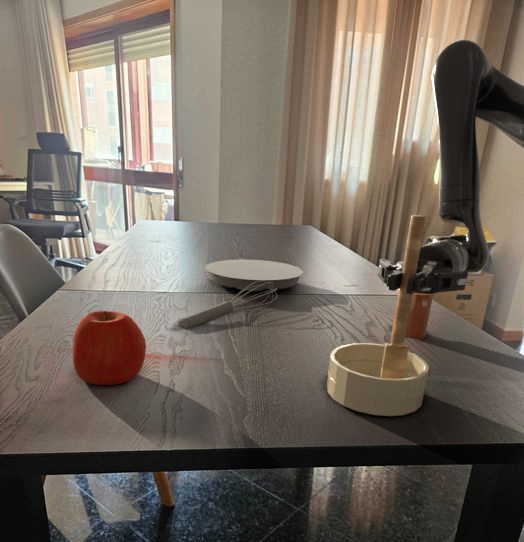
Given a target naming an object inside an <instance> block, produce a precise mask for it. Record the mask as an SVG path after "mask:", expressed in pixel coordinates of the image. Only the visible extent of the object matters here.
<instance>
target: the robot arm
mask: <svg viewBox="0 0 524 542" xmlns="http://www.w3.org/2000/svg"><path fill="white" fill-rule="evenodd" d="M431 81H432V88H433V95H434V101H435V108H436V116H437V126H438V127H437V128H438V142H439V143H438V144H439V182H438V183H439V185H438V217H439V220H440V221H441V222H443V223H447V224H456V225H457V224H458V225H462V226H463V227H464V228H465V231H466V234H456V235H444V236H443V235H442V236H438V237H435V238H433V239H432V240H431V242H429V243H426V244H424V245H421V247H420V253H419V259H418V265H417V270H416V274H414V275H412V276H410V277H409V279H408V284H407V290H406V293H408V294H413V293H415V292H419V293H422V294H433V295H434V294H437V293H447V292H457V291H465V290H466V286H467V281H468V277H469V273H478V272H481V271H482V270H483V269H485V267H486V265H487V264H488V263H489V262H488V261H489V258H490V249H489V245H488V242H487V239H486V236H485V235H486V234H485V231H484V228H483V224H482V218H481V210H480V209H481V207H480V203H481V202H480V200H481V166H480V156H479V149H478V142H477V141H478V140H477V127H476V125H477V124H476V121H477V120H476V119H478V120H480V121H483V122H484V123H487V124H488V125H491V126H493V127H494V128H496V129H498V130H499V131H501V132H502V133H503V134H504V135H506V136H507V137H508V138H509V139H511V140H512V141H513V142H514V143H516V144H517V145H518V146H520V147H522V149H524V85H523V84H521V83H519V82H517V81H515V80H514V79H512V78H511V77H509V76H507V74H505V73H504V72H502V71H500V69H498V68H496V66H494V64H493V63H491V60H490V59H489V57H488V56H487V53H486V51H485V50H484V49H483V48H482V47H481V46H480V45H479V44H478V43H476V42H475V41H472V40H470V39H469V40H468V39H460V40H457V41H454V42H452V43H450V44H448V45H447V46H446V47H445V48H444V49H442V51H441V52H440V53H439V54H438V56H437V58H436V60H435V61H434V64H433V68H432V72H431ZM403 264H404V260H403V261H402V260H401V261H398V262H396V264H393V262H392V261H389V260H388V259H386V258H381V259H379V262H378V270H377V277H378V278H379V280H381V282H382V283H383V284H385V285H386V287H388V291H392V292H395V291H398V290H399V288H400V283H401V277H402V271H403Z"/></svg>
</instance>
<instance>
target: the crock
mask: <svg viewBox="0 0 524 542" xmlns="http://www.w3.org/2000/svg"><path fill="white" fill-rule="evenodd" d="M399 289H400V288H399ZM399 289H397V295H396V296H397V297H396V303H395V309H394V316H393V320H392V327H391V334H392V333H393V326H394V320H395V314H396V308H397V302H398V295H399ZM433 298H434V294H422V293H419V292H415V293H413V294H412V299H411V305H410V311H409V317H408V323H407V329H406V334H405V339H419V340H420V339H421V340H423V339H425V338H426V335H427V331H428V324H429V319H430V314H431V309H432V304H433Z"/></svg>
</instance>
